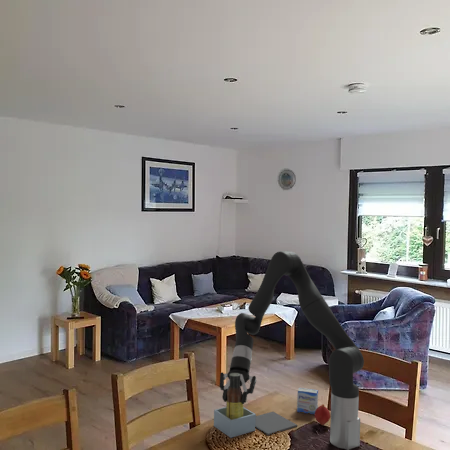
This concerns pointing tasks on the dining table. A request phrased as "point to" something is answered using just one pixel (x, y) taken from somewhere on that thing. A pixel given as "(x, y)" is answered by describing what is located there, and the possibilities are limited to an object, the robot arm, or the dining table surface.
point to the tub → (234, 422)
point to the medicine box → (307, 400)
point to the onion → (322, 414)
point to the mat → (273, 423)
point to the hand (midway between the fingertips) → (233, 401)
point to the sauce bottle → (234, 398)
